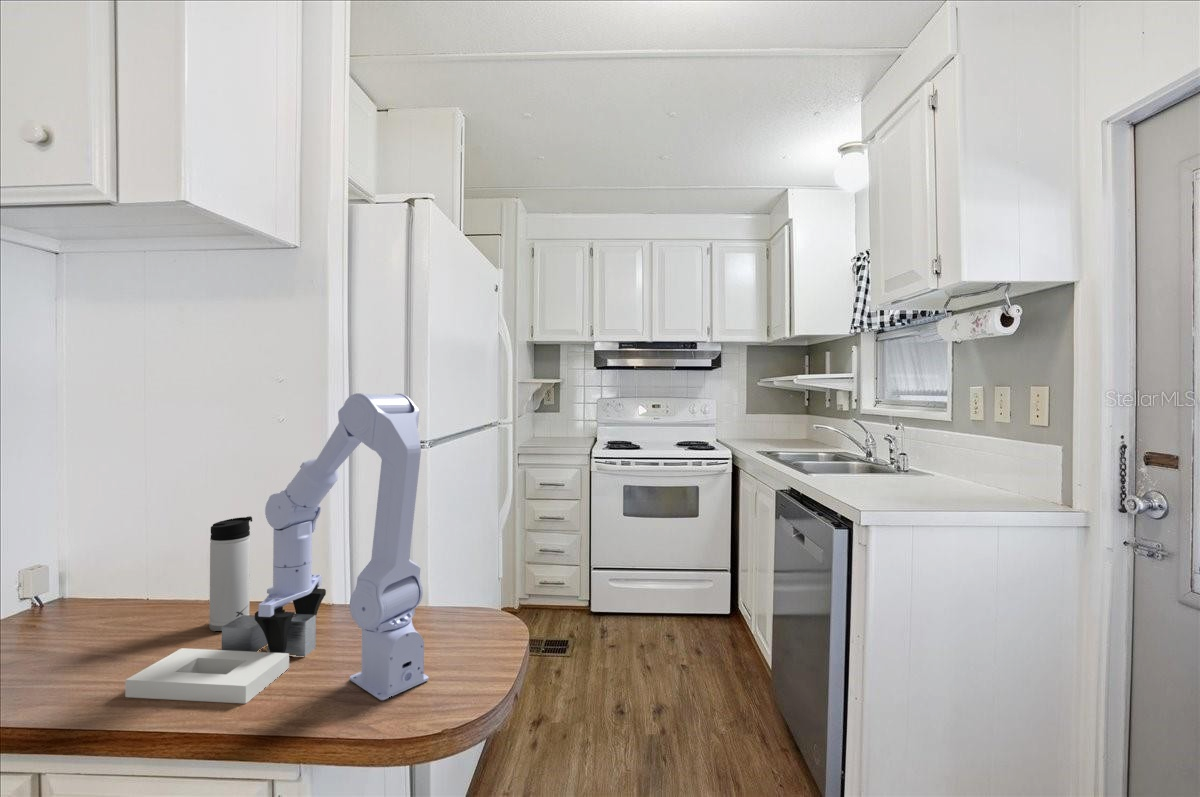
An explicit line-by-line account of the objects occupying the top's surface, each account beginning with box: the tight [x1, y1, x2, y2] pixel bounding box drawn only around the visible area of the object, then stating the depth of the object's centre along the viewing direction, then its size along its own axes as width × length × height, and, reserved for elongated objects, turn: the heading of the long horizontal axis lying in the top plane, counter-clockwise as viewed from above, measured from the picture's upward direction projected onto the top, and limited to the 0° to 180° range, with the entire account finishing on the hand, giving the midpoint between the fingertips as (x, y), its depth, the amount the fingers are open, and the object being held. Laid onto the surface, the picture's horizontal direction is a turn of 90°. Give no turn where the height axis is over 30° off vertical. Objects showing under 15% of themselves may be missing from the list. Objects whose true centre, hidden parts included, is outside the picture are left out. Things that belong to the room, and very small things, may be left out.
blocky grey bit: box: [267, 613, 317, 658], centre depth 96 cm, size 6×3×6 cm, turn 86°
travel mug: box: [208, 515, 253, 632], centre depth 106 cm, size 6×7×20 cm
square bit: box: [221, 614, 268, 652], centre depth 96 cm, size 5×5×5 cm
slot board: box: [124, 647, 290, 704], centre depth 85 cm, size 18×10×2 cm, turn 86°
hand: (291, 642), depth 96 cm, fingers open, 7 cm apart
